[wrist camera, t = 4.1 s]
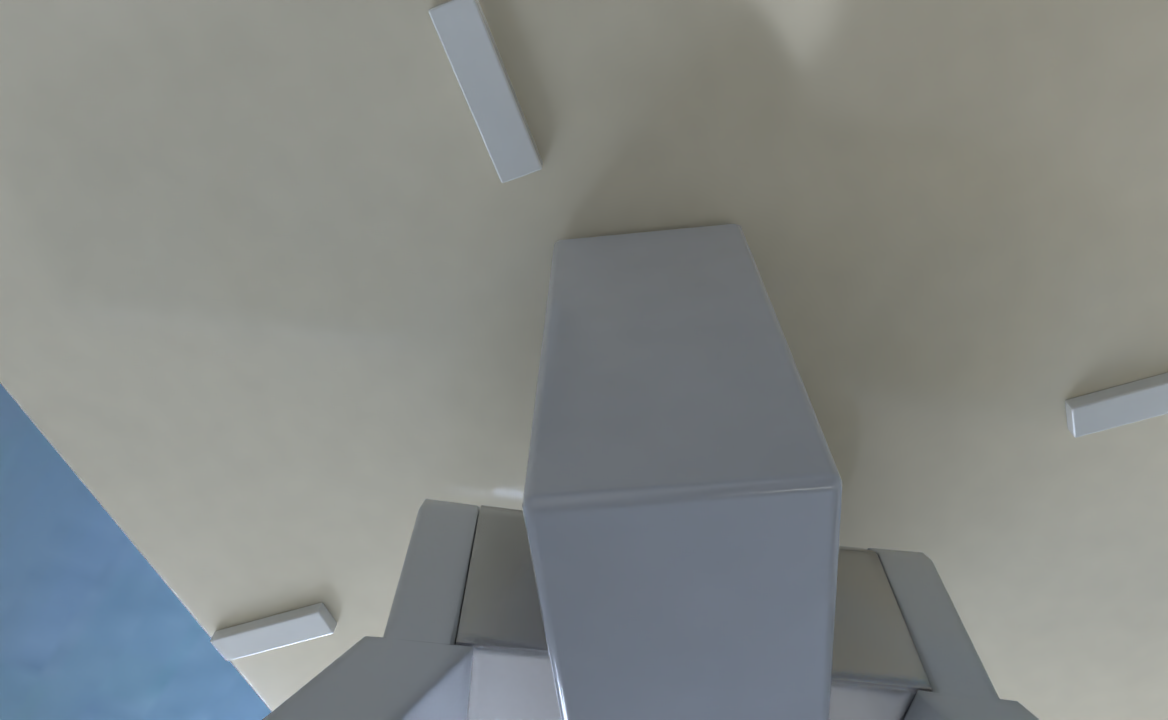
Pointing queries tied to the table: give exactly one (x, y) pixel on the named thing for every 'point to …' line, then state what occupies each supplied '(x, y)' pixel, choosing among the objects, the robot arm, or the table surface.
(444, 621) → the robot arm
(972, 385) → the block
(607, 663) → the tap handle
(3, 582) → the table surface
